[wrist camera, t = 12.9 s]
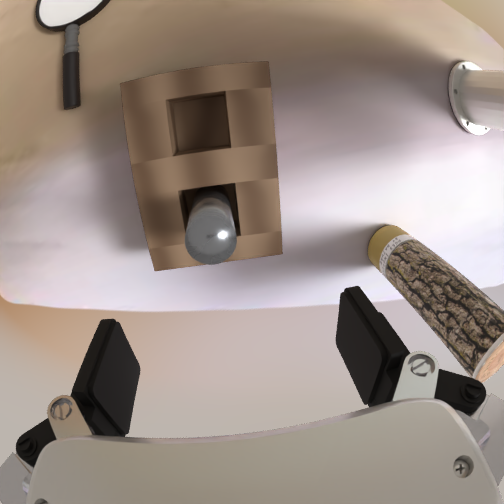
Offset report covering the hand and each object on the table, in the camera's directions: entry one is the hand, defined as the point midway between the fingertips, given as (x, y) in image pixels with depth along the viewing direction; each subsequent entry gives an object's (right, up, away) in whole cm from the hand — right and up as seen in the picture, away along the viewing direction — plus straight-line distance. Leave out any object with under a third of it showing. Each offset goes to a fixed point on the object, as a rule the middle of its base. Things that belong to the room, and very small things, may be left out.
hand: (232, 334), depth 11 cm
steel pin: (-4, +9, +21) cm, 23 cm away
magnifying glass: (-21, +32, +10) cm, 39 cm away
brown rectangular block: (-4, +14, +20) cm, 25 cm away
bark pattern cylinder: (+20, +4, +28) cm, 35 cm away
